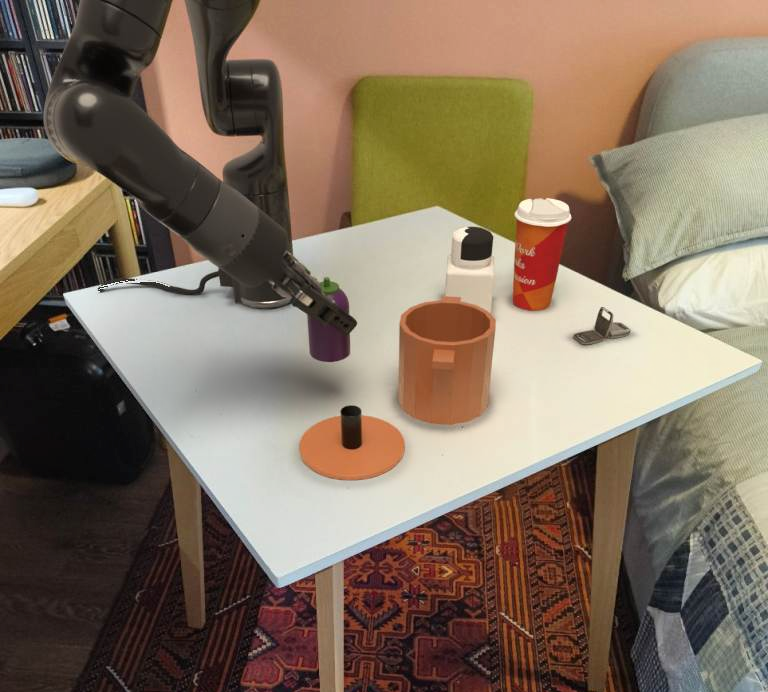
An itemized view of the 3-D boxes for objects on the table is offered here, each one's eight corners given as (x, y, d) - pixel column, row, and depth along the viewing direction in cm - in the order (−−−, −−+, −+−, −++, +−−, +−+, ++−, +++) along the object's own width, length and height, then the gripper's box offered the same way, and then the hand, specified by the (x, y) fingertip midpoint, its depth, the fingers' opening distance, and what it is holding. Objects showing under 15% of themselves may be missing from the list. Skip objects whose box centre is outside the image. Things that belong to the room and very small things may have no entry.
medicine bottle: (490, 298, 123) (497, 223, 115) (490, 319, 117) (498, 241, 110) (445, 296, 123) (449, 221, 116) (443, 316, 118) (447, 239, 110)
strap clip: (619, 326, 116) (624, 299, 113) (631, 335, 113) (637, 308, 111) (571, 337, 113) (576, 310, 110) (583, 346, 111) (588, 319, 108)
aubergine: (305, 360, 93) (300, 286, 87) (314, 340, 96) (309, 268, 90) (346, 363, 92) (344, 289, 86) (353, 343, 96) (351, 270, 90)
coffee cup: (500, 292, 125) (510, 197, 115) (550, 290, 125) (564, 195, 115) (511, 315, 118) (522, 217, 108) (564, 313, 119) (580, 215, 109)
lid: (289, 480, 87) (285, 438, 83) (311, 419, 97) (308, 379, 93) (398, 488, 86) (399, 446, 82) (409, 426, 95) (410, 385, 92)
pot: (391, 437, 94) (392, 352, 86) (405, 367, 106) (407, 288, 99) (485, 443, 93) (494, 359, 85) (488, 372, 105) (496, 293, 98)
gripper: (274, 228, 75) (387, 319, 86) (237, 183, 85) (342, 270, 96) (228, 289, 77) (344, 370, 88) (196, 237, 87) (305, 316, 98)
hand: (342, 317), depth 92 cm, fingers closed on aubergine, 5 cm apart
